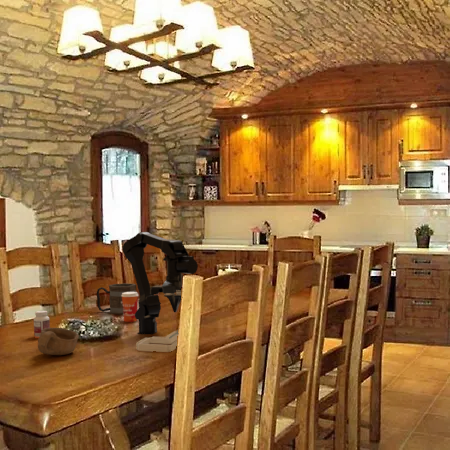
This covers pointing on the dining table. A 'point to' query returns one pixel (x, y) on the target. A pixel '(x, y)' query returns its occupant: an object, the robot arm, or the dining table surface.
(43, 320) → the pill bottle
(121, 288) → the mug
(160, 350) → the beige square tray
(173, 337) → the grey lever handle
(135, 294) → the paper cup
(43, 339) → the bowl
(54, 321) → the dining table surface
